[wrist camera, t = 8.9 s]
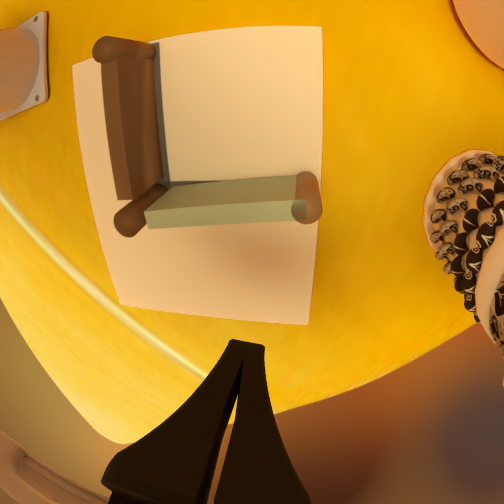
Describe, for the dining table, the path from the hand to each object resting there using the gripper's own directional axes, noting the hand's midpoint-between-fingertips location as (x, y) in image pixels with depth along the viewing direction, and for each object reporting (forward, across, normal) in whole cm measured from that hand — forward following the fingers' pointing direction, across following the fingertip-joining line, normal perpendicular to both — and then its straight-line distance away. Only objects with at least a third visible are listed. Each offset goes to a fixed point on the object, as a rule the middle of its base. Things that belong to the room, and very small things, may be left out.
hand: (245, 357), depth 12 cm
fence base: (+9, +8, -7) cm, 14 cm away
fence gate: (+9, +2, -4) cm, 10 cm away
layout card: (+9, +6, -3) cm, 11 cm away
